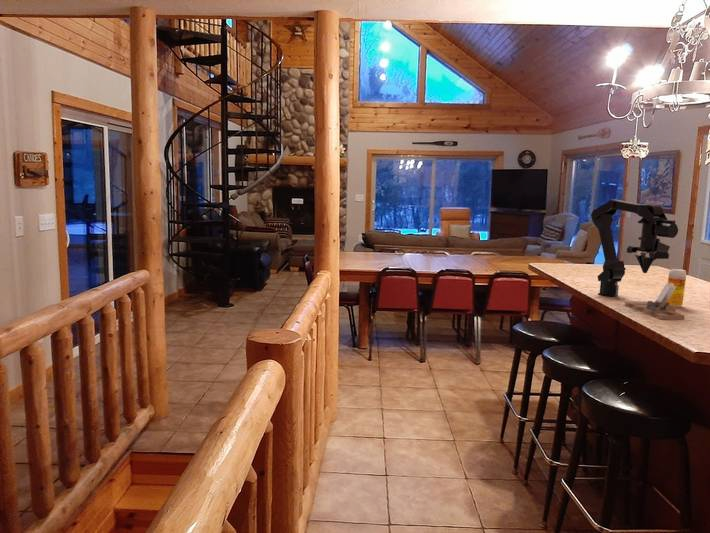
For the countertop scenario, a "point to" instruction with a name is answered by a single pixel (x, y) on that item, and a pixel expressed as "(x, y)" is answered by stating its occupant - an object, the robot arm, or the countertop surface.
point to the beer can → (677, 286)
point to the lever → (665, 295)
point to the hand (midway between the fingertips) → (644, 272)
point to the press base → (655, 309)
